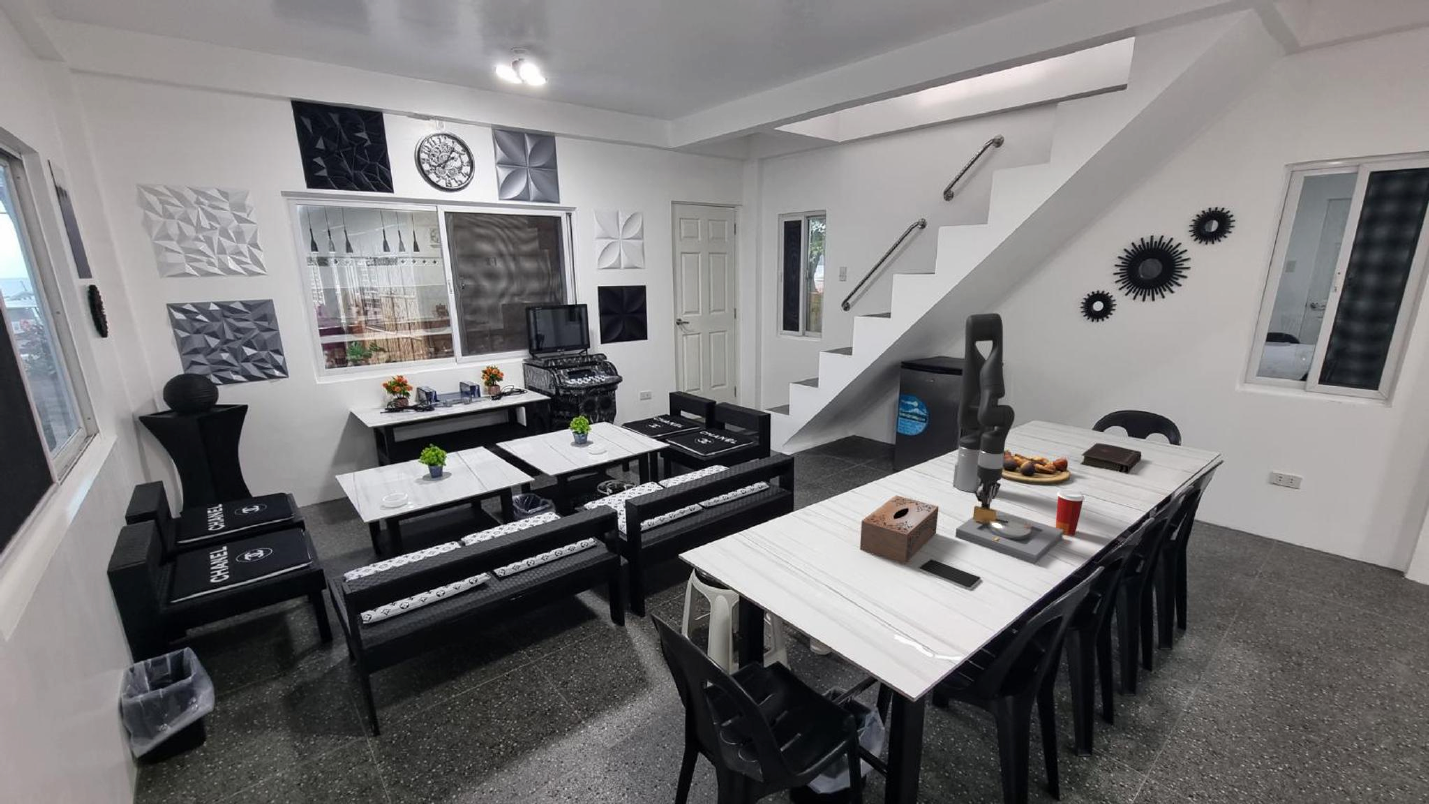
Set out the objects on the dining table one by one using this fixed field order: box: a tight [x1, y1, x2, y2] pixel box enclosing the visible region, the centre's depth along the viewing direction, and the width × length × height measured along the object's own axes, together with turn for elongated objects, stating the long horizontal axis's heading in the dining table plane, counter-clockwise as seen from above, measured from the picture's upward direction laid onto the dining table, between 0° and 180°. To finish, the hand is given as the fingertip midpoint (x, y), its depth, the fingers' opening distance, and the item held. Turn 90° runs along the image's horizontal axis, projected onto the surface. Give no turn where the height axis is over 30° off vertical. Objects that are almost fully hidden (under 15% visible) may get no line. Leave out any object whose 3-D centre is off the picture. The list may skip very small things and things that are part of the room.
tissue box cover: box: [859, 494, 940, 565], centre depth 181 cm, size 26×14×10 cm, turn 139°
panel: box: [955, 507, 1064, 565], centre depth 184 cm, size 24×24×3 cm
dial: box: [972, 505, 1031, 540], centre depth 184 cm, size 17×12×6 cm
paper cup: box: [1055, 488, 1086, 537], centre depth 186 cm, size 8×8×14 cm
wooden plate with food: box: [1001, 449, 1072, 485], centre depth 241 cm, size 32×32×8 cm
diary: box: [1080, 442, 1142, 475], centre depth 252 cm, size 19×25×5 cm
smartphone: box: [918, 558, 982, 591], centre depth 163 cm, size 8×1×15 cm
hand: (984, 512), depth 190 cm, fingers closed
